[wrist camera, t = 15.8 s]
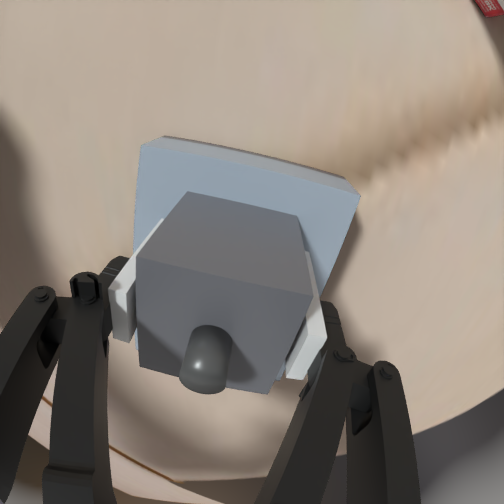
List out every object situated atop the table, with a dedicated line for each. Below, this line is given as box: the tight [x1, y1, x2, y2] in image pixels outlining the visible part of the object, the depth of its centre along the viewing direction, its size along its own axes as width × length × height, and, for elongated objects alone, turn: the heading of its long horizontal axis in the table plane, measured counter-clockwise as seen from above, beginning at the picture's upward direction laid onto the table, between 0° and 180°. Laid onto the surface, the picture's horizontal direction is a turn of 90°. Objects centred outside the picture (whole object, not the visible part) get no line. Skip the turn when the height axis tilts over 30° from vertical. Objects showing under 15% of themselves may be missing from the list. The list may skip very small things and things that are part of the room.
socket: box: [133, 136, 361, 381], centre depth 20 cm, size 12×16×4 cm
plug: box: [136, 191, 314, 394], centre depth 14 cm, size 6×6×12 cm
